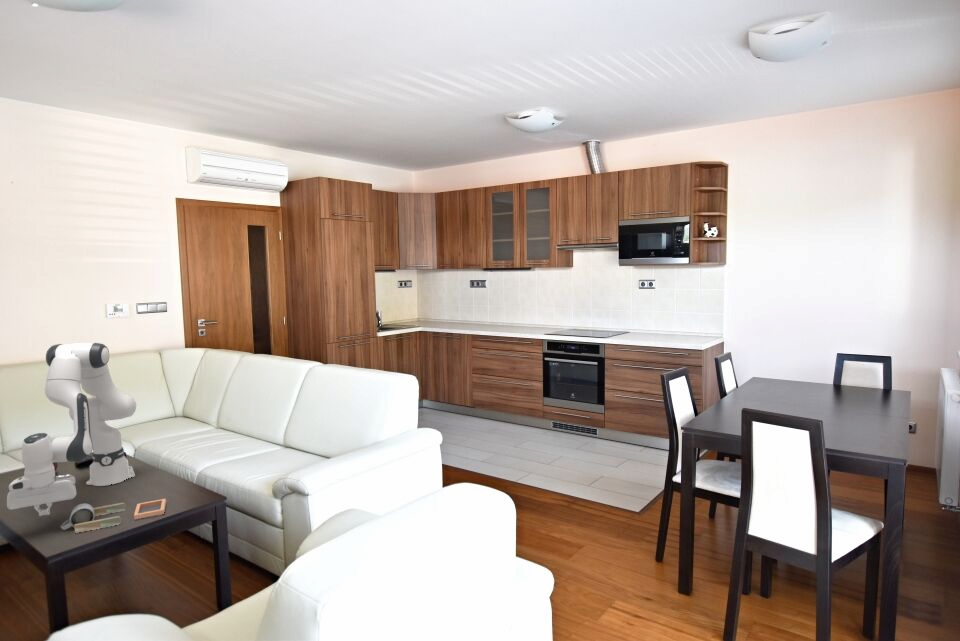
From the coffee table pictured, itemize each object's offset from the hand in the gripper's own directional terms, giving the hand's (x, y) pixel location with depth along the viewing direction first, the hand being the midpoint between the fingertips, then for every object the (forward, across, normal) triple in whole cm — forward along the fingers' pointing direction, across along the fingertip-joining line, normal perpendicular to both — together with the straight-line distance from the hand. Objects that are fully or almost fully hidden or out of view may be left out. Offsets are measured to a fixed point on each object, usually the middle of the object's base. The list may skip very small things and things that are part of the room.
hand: (44, 514), depth 209 cm
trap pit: (+6, -34, 0) cm, 34 cm away
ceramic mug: (+7, -10, 0) cm, 12 cm away
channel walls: (+6, -17, 0) cm, 18 cm away
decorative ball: (+6, +15, -70) cm, 72 cm away
